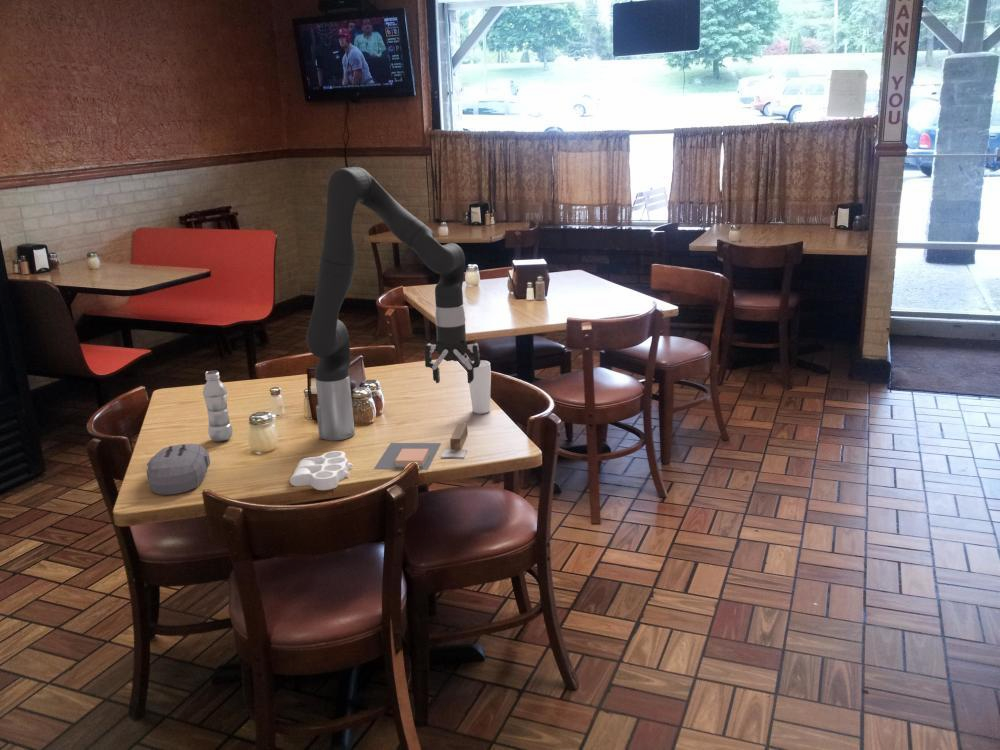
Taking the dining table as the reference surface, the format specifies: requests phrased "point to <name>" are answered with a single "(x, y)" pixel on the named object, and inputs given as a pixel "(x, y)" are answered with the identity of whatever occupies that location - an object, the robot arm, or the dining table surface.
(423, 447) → the mat
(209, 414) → the plastic bottle
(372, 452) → the dining table surface
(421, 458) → the tile
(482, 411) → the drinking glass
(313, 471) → the white compartment holder
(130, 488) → the dining table surface
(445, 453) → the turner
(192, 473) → the grey rounded bag
